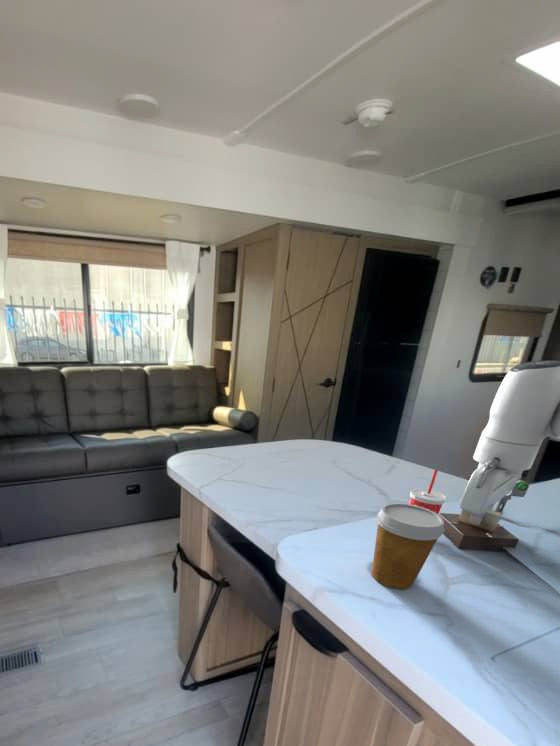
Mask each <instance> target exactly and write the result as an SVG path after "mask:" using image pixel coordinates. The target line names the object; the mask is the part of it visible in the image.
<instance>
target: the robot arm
mask: <svg viewBox="0 0 560 746" xmlns="http://www.w3.org/2000/svg"><path fill="white" fill-rule="evenodd" d="M548 437H551V438H556V439H558V440H560V360H553V359H552V360H551V359H550V360H549V359H548V360H533V361H532V360H531V361H526V362H521V363H519V364H517V365H515V366H512V367H511V368H510V369H509V370H508V372H507V373H506V375H504V378H503V379H502V381H501V383H500V385H499V387H498V389H497V391H496V393H495V396H494V398H493V401H492V403H491V406H490V409H489V418H488V422H487V424H486V426H485V427H484V428H483V430H482V431H481V433H480V437H479V440H478V441H477V445H476V448H475V450H474V452H473V456H472V459H473V460H474V461H475V462H477V463H478V465H477V468H476V469H475V470H474V471H473V472H472V474H471V476H470V478H469V480H468V482H467V484H466V486H465V489H464V492H463V494H462V496H461V499H460V502H459V508H460V509H461V510H462V509H463V510H466V511H469V512H472V515H471V518H470V520H469V522H470V523H472V524H475V525H479V524H481V523H482V521H483V519H484V514H485V511H486V510H487V509H489V510H492V511H493V508H494V507H495V506H496V504H497V501H498V500H500V499H501V498H502V497H504V496H505V495H506V494H508V493H509V492H510V491H511V490H512V489H513V488H514V486H515V485H516V483H517V481H518V480H519V478H520V476H522V475H523V472H524V471H528V470H531V469H532V466H533V464H534V463H535V460H536V457H537V455H538V453H539V451H540V448H541V446H542V443H543V441H544V440H545V439H546V438H548Z"/></svg>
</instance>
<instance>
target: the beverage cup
mask: <svg viewBox="0 0 560 746" xmlns="http://www.w3.org/2000/svg"><path fill="white" fill-rule="evenodd" d="M438 471H439V470H438V469H434V472H433V475H432V478H431V481H430V484H429V487H428V488H413V489H411V490H410V493H409V496H410V499H409V503H408V504H410V505H415V506H419V507H422V508H425V509H428V510H431V511H433V512H435V513H436V514H439V513H440V511H441V509H442V507H443V504H445V503H446V501H447V499H448V498H447V496H446V495H445V494H443V493H441V492H439V491H436V490H433V487H434V484H435V481H436V478H437V474H438Z"/></svg>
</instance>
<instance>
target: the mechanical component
mask: <svg viewBox="0 0 560 746" xmlns="http://www.w3.org/2000/svg"><path fill="white" fill-rule="evenodd" d="M521 479H522V475H521V476H520V478H519V480H518V481H517V483H516V485H515V486H514V488H513V489H512V490H511V491H510V492H509V493H508V494H506V495H505V496H504V497H502V498H501V499H500V500H498V501H497V502H496V503H495V505H494V509H493V511H496V512H499V513H502V514H503V511H504V509H505V507H506V504H507V502H508V501H510V500H512V497H517V498H524V497H525V496H526V494H527V492H528V490H529V488H530V485H529V483H528V482H527V481H525V480H521Z"/></svg>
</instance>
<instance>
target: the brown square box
mask: <svg viewBox="0 0 560 746" xmlns="http://www.w3.org/2000/svg"><path fill="white" fill-rule="evenodd" d="M438 515H439V516H441V517H442V518H443V521H444V528H445V532H444V533H443V534H442V535H444V536H445V537H446V538H447V539H448V540H449V541H450V542H451V543H452V545H454V546H455V547H456V548H457V549H459V550H470V551H485V552H495V553H497V552H498V553H509V551H508V550H507V549H516V548H517V545H518V543H519V541H520V539H519V538H518V537H517V536H515V535H514V534H513V533H511V532H510V531H509V530H507V529H506V528H505V526H504V525H501V524H499V523H498V525H497V527H496V529H495V530H494V531H493V532H491V531H488V530H485V529H482V528H479V527H476V526H473V525H470V524H467V523H464V522H461V521H458V520H459V517H460V515H461V513H448V512H446V513H445V512H439V514H438ZM506 548H507V549H506Z"/></svg>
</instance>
